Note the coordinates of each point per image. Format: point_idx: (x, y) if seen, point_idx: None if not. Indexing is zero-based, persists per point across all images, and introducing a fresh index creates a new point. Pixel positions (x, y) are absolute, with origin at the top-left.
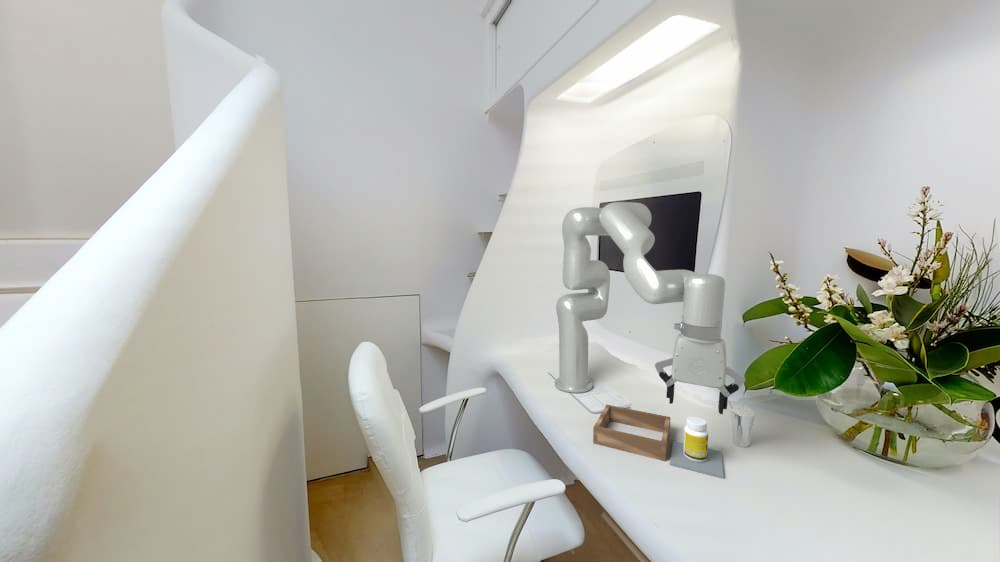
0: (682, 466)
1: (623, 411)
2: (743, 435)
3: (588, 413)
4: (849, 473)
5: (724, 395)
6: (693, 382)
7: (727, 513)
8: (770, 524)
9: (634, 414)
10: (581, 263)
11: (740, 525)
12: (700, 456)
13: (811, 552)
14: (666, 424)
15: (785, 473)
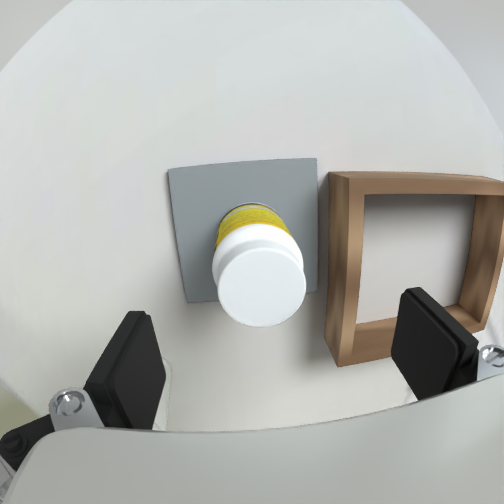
0: (280, 160)
1: None
2: None
3: None
4: (2, 334)
5: (84, 395)
6: (378, 424)
7: (160, 28)
8: (81, 53)
9: None
10: None
11: (137, 9)
12: (234, 209)
13: (38, 32)
14: (350, 317)
15: (59, 282)
